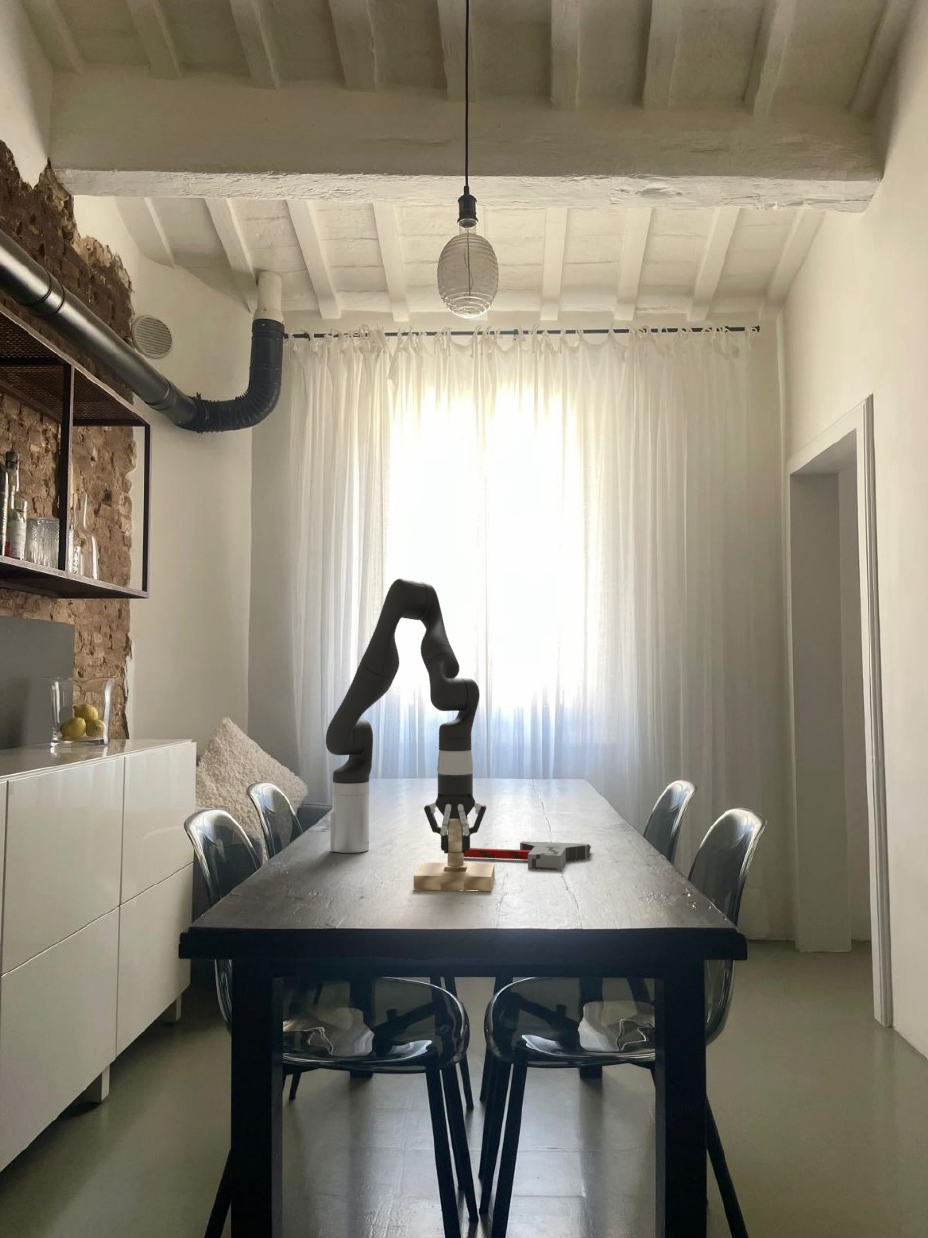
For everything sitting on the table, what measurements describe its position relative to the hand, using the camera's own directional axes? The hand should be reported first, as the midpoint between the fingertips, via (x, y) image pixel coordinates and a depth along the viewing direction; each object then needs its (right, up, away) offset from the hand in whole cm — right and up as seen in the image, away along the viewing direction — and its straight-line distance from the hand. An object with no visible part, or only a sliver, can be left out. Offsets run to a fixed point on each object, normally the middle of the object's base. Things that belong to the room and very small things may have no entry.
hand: (455, 852), depth 204 cm
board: (0, -6, 0) cm, 7 cm away
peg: (0, -3, 0) cm, 3 cm away
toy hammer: (+16, -9, +27) cm, 33 cm away
